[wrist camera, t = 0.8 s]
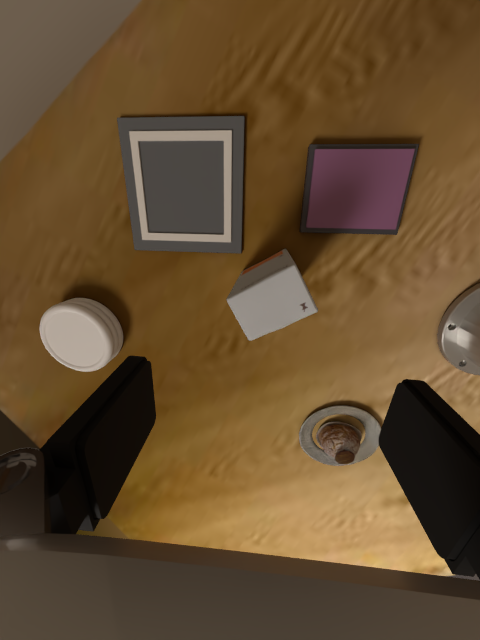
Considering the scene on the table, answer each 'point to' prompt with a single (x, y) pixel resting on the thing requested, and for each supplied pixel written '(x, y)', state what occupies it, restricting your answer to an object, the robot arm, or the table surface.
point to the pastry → (340, 437)
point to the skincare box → (270, 296)
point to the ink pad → (356, 187)
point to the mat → (184, 182)
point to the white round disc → (81, 334)
